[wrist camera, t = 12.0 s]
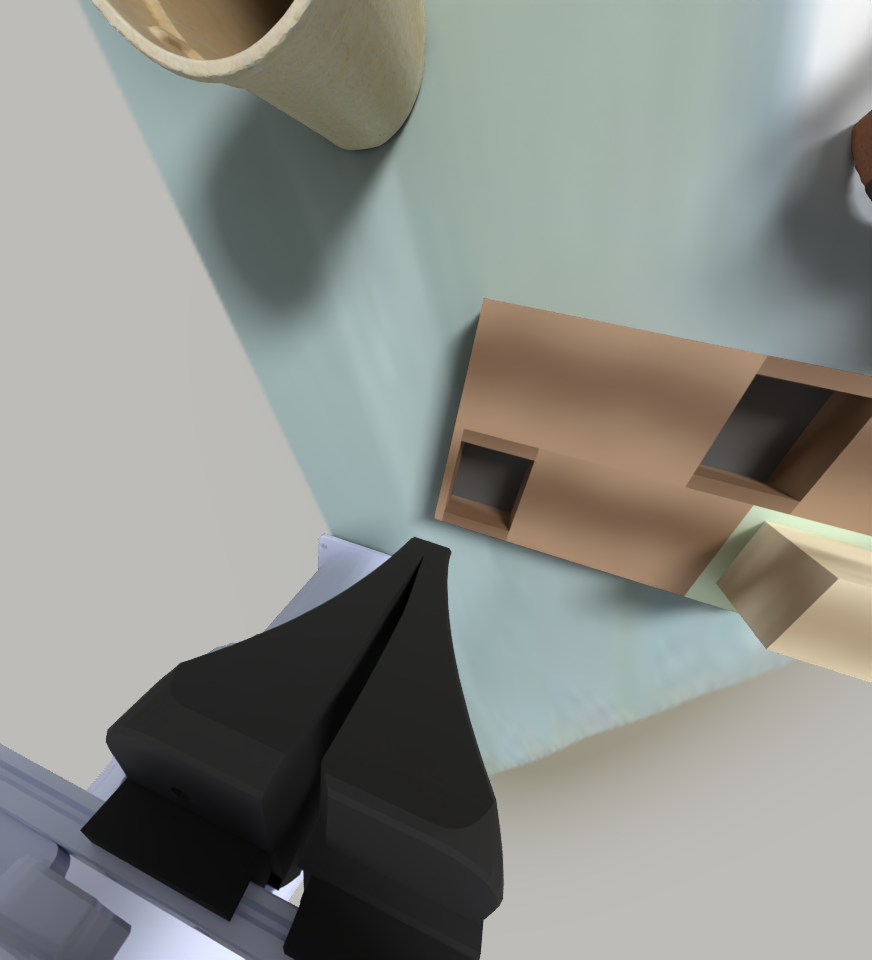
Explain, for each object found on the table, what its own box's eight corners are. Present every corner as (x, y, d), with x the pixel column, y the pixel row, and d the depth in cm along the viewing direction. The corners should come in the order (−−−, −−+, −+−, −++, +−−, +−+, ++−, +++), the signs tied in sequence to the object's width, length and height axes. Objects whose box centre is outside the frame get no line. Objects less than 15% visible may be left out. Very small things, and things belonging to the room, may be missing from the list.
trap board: (763, 596, 19) (795, 630, 17) (443, 500, 22) (434, 518, 20) (948, 396, 13) (1031, 408, 11) (489, 303, 16) (483, 298, 14)
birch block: (800, 608, 16) (877, 684, 13) (715, 583, 17) (766, 649, 13) (862, 546, 14) (972, 615, 11) (764, 521, 15) (838, 578, 11)
